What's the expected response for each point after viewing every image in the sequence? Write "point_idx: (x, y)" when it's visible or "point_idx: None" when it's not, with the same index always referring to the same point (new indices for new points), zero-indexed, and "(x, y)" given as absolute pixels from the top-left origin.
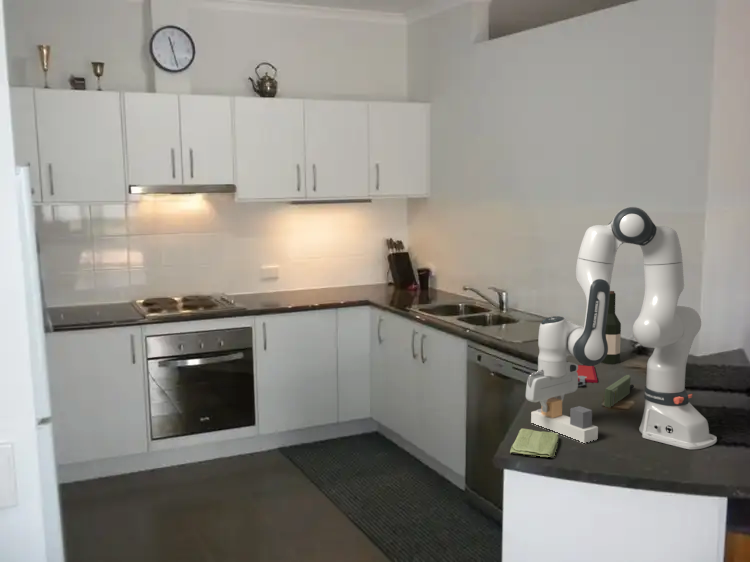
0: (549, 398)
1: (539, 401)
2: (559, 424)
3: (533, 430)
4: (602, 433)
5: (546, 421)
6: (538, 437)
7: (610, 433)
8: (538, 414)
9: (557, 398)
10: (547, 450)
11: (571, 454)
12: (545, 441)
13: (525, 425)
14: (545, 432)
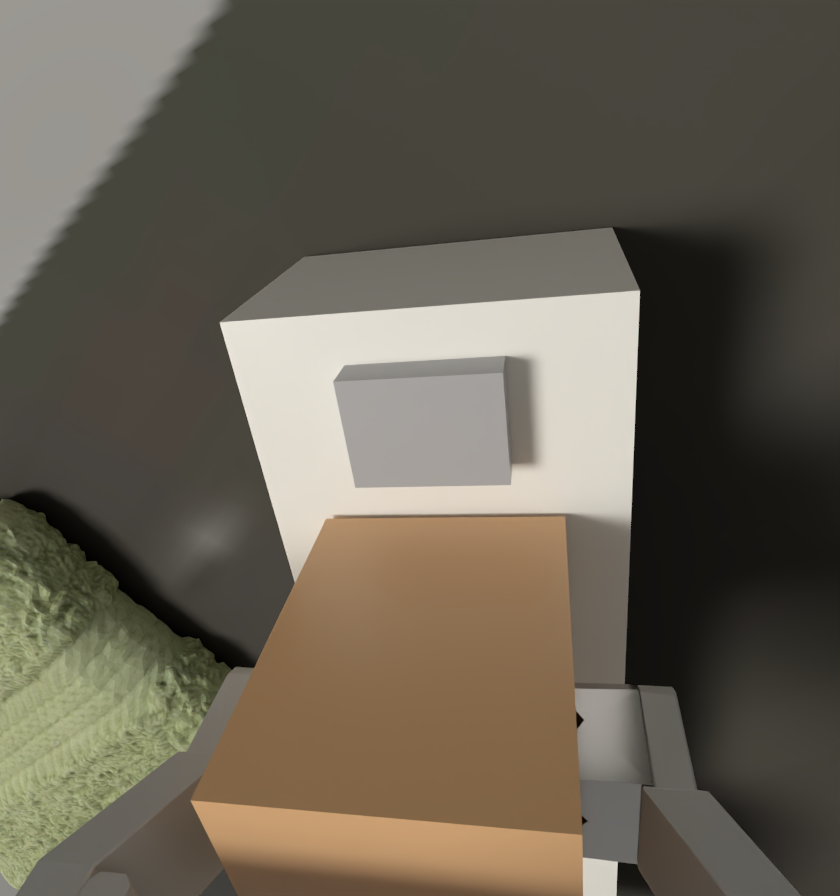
0: (412, 887)
1: (46, 854)
2: None
3: (57, 655)
4: (774, 850)
5: None
6: (32, 773)
7: (834, 882)
8: (274, 494)
9: (712, 892)
10: (23, 882)
11: (228, 880)
12: (62, 828)
13: (194, 262)
14: (150, 745)
